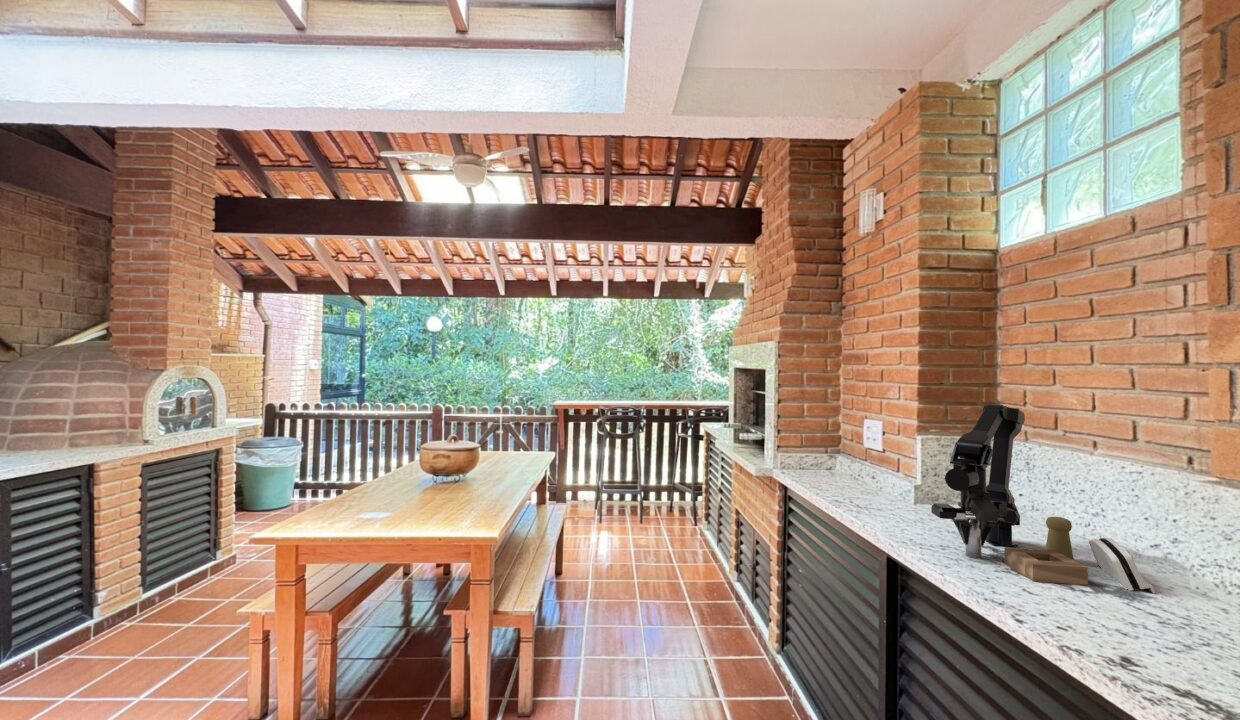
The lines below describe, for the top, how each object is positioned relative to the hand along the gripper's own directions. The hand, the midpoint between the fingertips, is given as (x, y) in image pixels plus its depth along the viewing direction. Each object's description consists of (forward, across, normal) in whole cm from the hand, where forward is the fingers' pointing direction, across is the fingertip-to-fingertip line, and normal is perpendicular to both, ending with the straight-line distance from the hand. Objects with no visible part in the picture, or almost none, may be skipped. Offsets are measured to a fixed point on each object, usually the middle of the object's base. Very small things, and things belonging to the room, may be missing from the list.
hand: (973, 544), depth 138 cm
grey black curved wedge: (+3, +27, -10) cm, 29 cm away
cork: (+3, +21, +1) cm, 21 cm away
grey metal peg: (+3, 0, 0) cm, 3 cm away
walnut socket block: (+3, +11, -10) cm, 15 cm away
